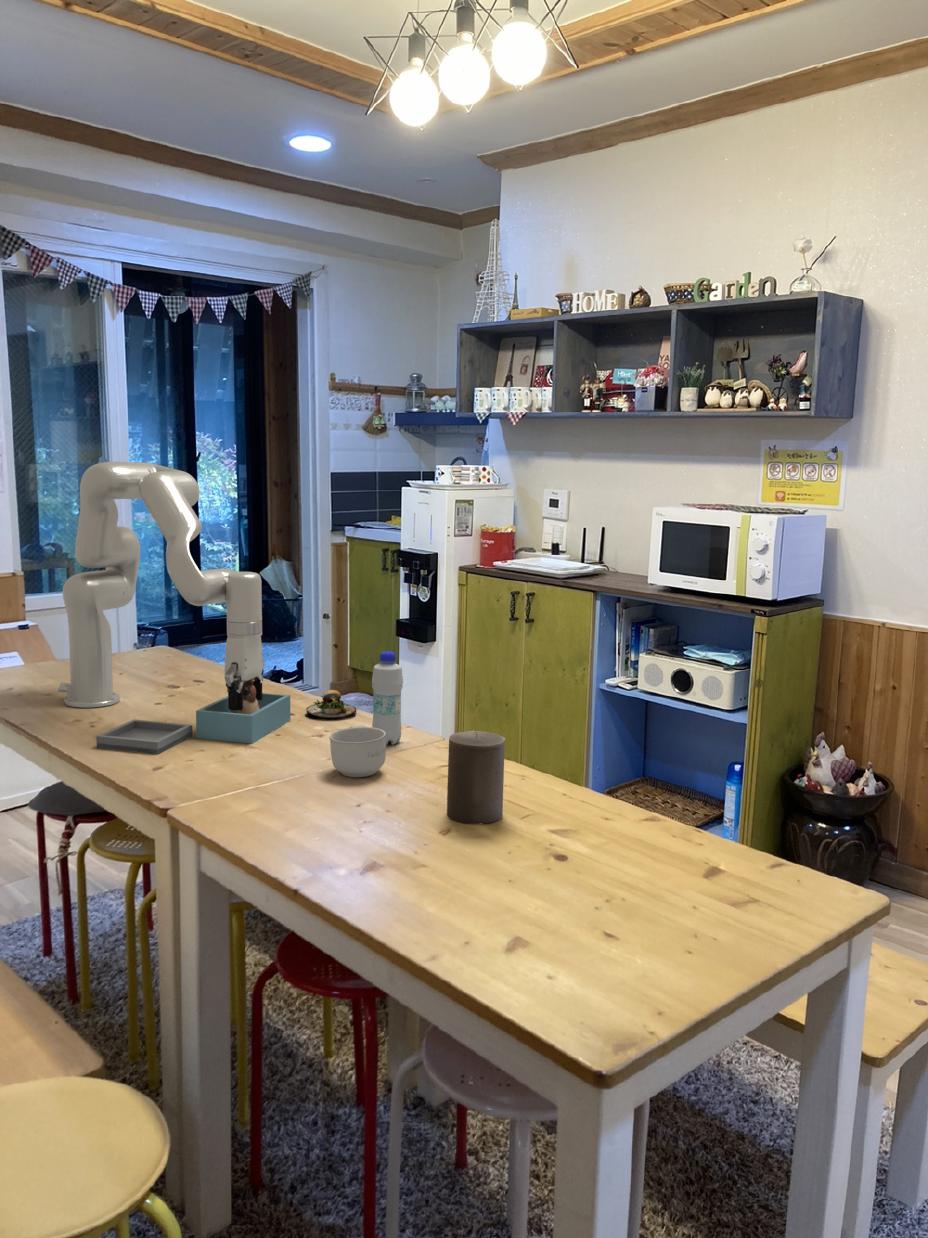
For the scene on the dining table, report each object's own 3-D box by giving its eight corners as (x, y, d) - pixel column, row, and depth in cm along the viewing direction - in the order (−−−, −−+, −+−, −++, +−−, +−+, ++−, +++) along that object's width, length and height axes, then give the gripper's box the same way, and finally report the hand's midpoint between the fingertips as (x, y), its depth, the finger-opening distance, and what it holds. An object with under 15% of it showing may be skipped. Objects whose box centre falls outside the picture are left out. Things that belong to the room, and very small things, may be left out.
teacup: (376, 784, 186) (376, 742, 185) (321, 778, 189) (321, 738, 187) (396, 762, 200) (396, 724, 199) (344, 758, 202) (344, 719, 201)
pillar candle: (455, 826, 166) (457, 739, 163) (440, 806, 175) (442, 724, 173) (510, 822, 168) (513, 737, 166) (493, 803, 178) (496, 722, 175)
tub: (196, 738, 213) (195, 710, 212) (238, 715, 232) (238, 690, 231) (252, 743, 210) (252, 716, 209) (290, 720, 229) (290, 695, 228)
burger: (298, 719, 231) (298, 688, 230) (317, 707, 243) (317, 677, 242) (346, 724, 229) (346, 692, 227) (363, 711, 240) (363, 681, 239)
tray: (96, 747, 204) (96, 736, 204) (134, 730, 217) (133, 719, 217) (158, 754, 201) (157, 742, 200) (192, 736, 214) (192, 725, 214)
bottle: (400, 747, 210) (402, 654, 207) (369, 746, 210) (370, 653, 207) (403, 738, 217) (404, 648, 214) (372, 737, 217) (373, 647, 214)
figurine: (247, 723, 226) (247, 671, 224) (268, 729, 222) (267, 676, 220) (222, 729, 221) (221, 676, 219) (242, 735, 216) (241, 681, 214)
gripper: (246, 621, 227) (247, 694, 229) (209, 633, 210) (211, 712, 213) (276, 623, 225) (277, 697, 228) (242, 635, 208) (243, 715, 211)
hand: (245, 704), depth 220 cm, fingers open, 9 cm apart
